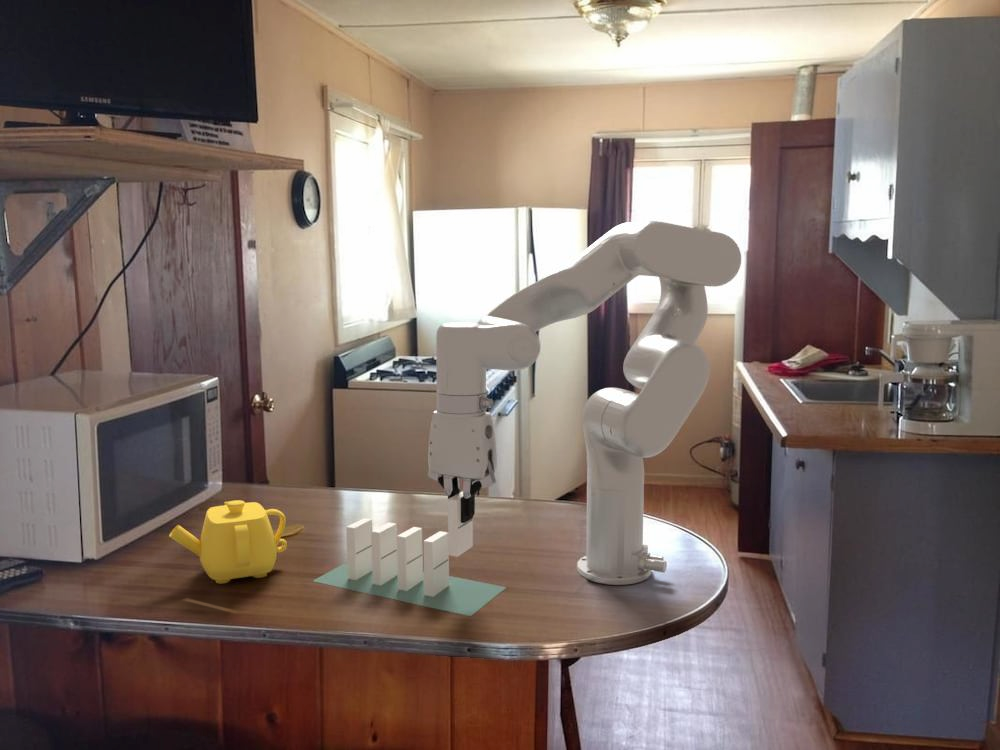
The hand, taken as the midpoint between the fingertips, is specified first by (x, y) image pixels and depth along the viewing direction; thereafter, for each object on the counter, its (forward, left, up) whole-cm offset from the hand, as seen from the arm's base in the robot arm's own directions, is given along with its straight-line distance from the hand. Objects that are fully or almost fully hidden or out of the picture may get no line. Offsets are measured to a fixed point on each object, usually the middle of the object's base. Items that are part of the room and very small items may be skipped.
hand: (461, 519), depth 133 cm
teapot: (+40, +9, -13) cm, 43 cm away
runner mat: (+10, 0, -13) cm, 17 cm away
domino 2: (+15, 0, -13) cm, 20 cm away
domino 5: (0, 0, -5) cm, 5 cm away
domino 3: (+10, 0, -13) cm, 16 cm away
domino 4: (+5, 0, -13) cm, 14 cm away
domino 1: (+20, 0, -13) cm, 24 cm away
